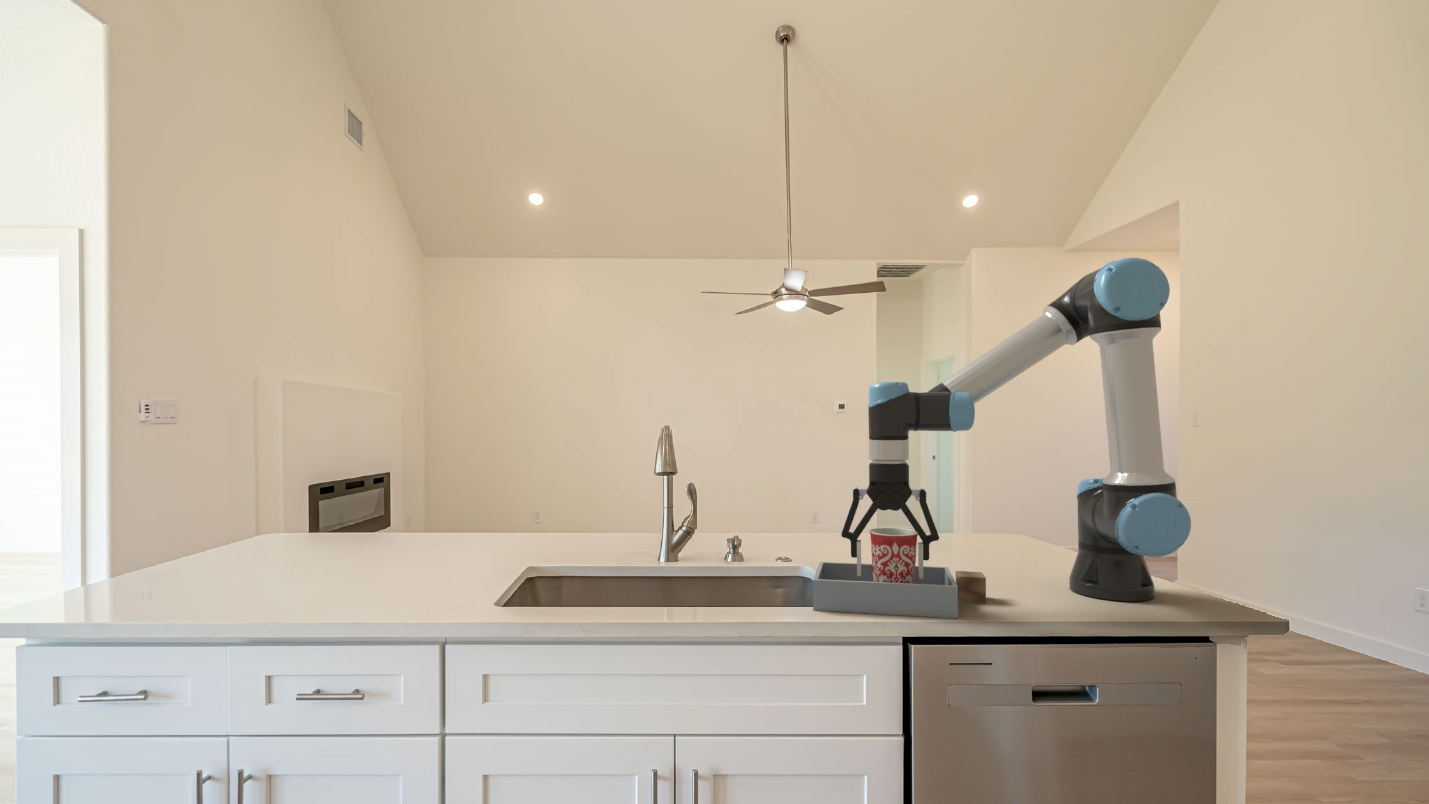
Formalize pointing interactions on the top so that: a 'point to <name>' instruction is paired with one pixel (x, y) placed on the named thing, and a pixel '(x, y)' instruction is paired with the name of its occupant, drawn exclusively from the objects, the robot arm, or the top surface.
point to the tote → (884, 592)
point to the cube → (971, 587)
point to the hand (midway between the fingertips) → (889, 575)
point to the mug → (893, 555)
